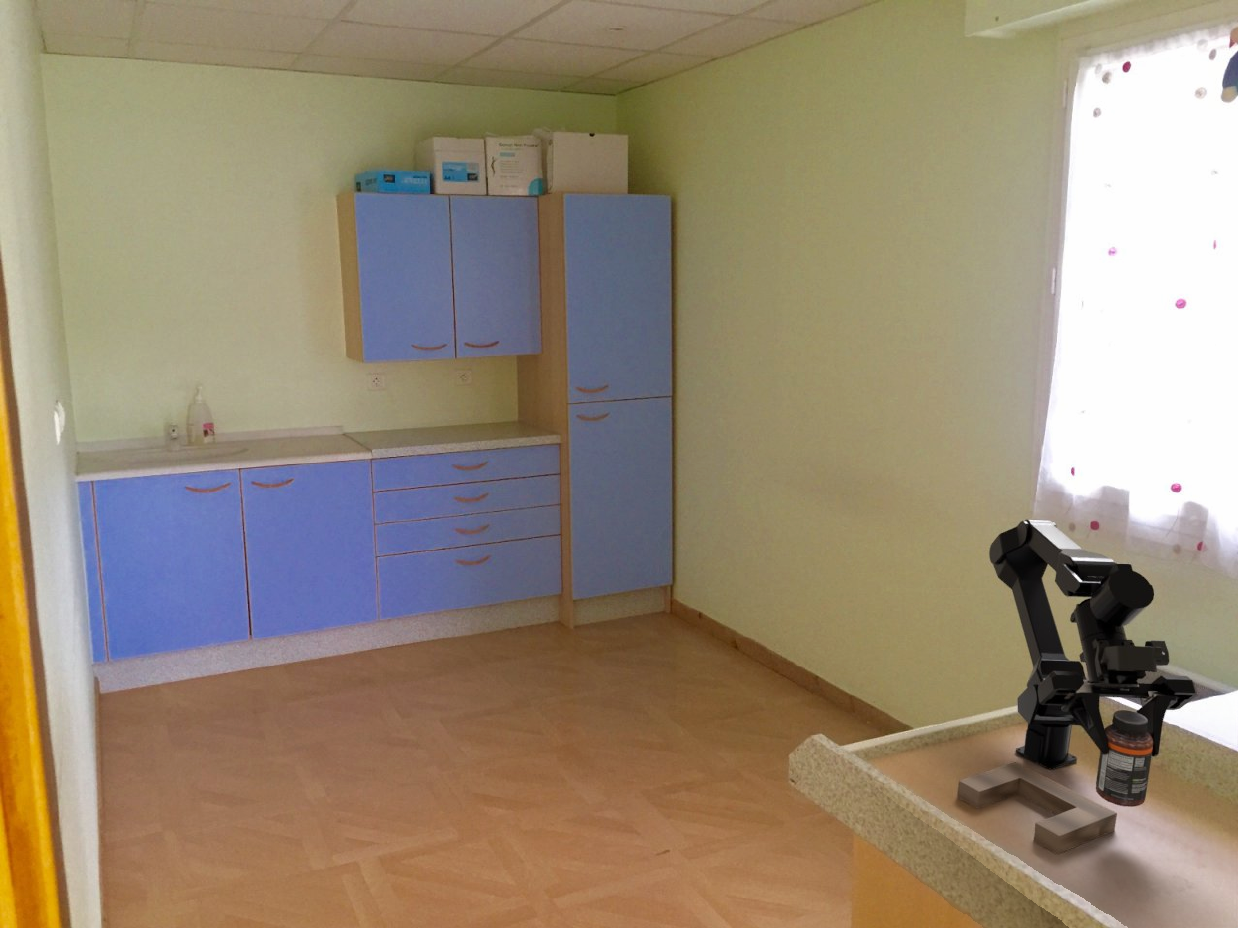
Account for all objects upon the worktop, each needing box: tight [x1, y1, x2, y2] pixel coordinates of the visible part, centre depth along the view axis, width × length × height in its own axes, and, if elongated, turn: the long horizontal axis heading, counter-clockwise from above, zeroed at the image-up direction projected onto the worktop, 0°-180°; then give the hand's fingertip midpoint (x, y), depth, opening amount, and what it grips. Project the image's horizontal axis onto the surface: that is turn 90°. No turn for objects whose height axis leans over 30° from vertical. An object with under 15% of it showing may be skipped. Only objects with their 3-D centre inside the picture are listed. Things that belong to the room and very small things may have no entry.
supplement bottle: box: [1095, 709, 1153, 808], centre depth 134 cm, size 6×6×11 cm
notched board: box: [956, 761, 1118, 855], centre depth 141 cm, size 12×16×2 cm
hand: (1130, 754), depth 132 cm, fingers closed on supplement bottle, 6 cm apart
